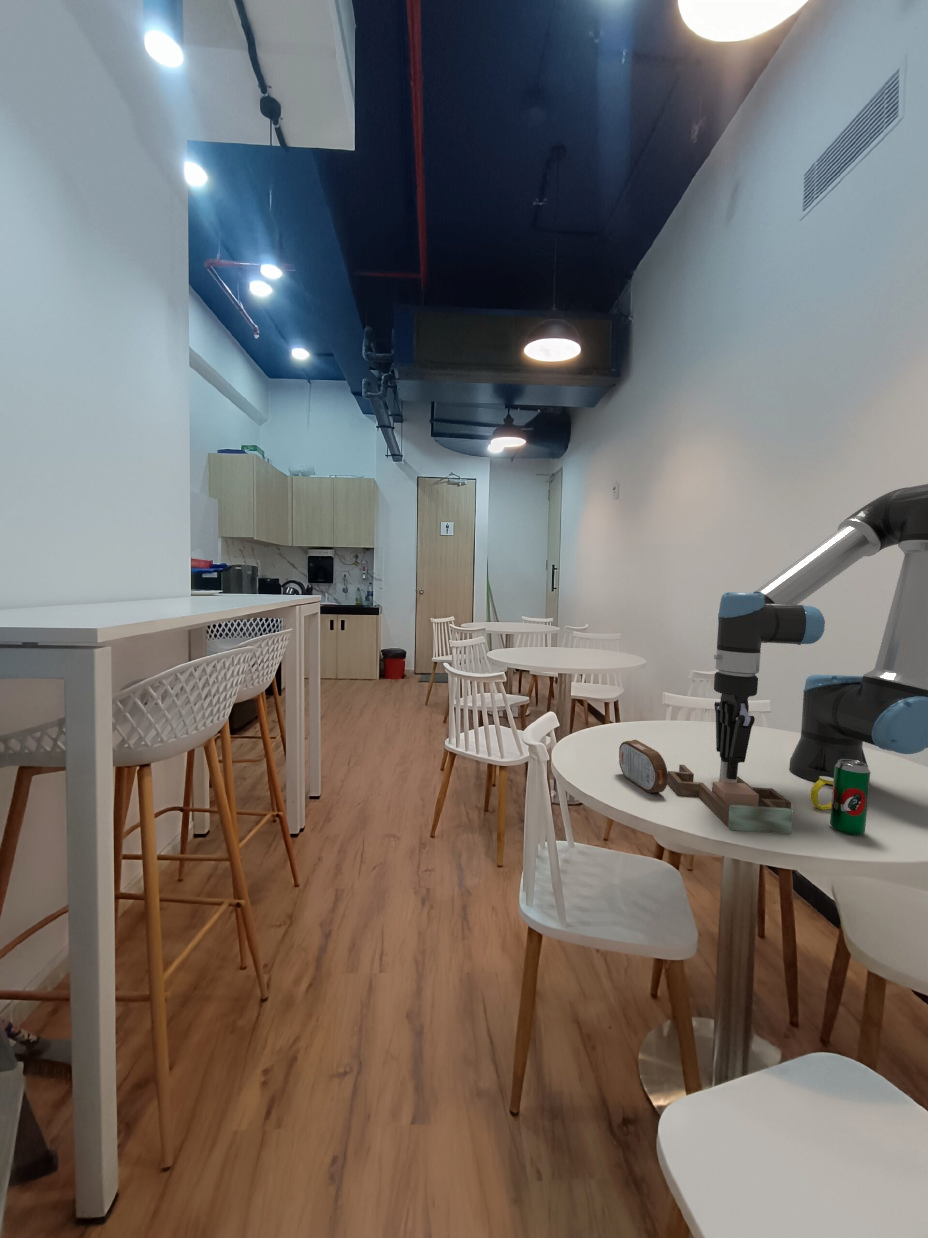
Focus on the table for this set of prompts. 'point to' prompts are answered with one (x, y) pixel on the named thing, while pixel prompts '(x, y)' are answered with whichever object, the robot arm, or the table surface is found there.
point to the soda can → (850, 797)
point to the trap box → (762, 818)
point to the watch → (816, 789)
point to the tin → (643, 766)
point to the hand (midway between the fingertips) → (727, 793)
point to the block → (735, 793)
